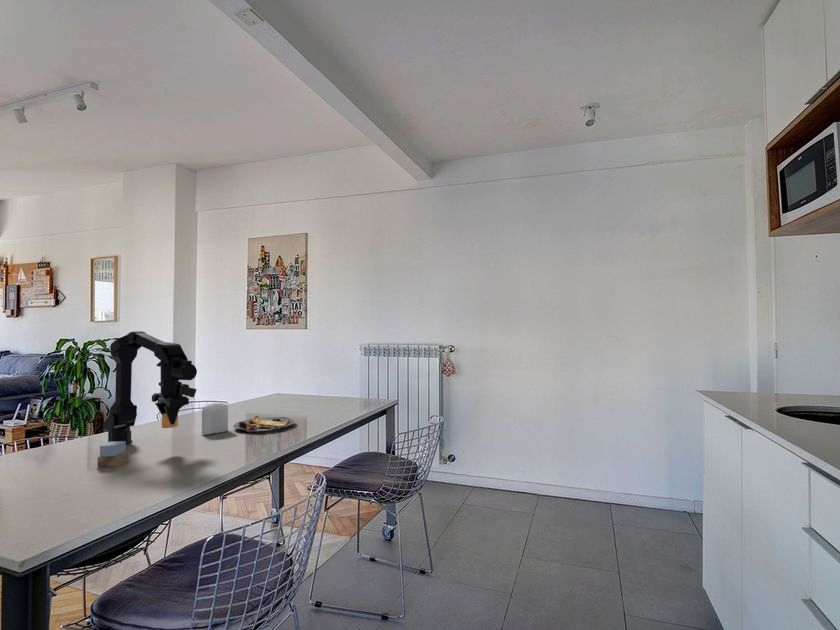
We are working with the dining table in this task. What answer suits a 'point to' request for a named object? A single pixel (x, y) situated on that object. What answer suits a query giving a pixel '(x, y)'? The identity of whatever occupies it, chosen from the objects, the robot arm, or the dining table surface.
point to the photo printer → (214, 418)
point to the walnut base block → (112, 460)
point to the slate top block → (112, 448)
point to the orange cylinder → (168, 422)
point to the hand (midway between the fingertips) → (169, 423)
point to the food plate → (264, 424)
